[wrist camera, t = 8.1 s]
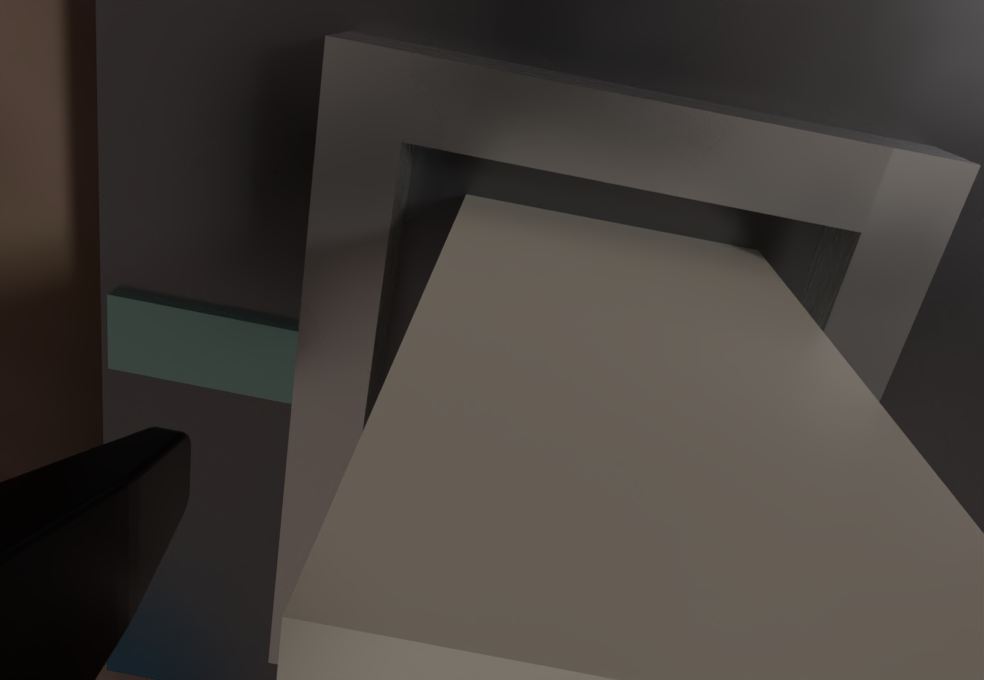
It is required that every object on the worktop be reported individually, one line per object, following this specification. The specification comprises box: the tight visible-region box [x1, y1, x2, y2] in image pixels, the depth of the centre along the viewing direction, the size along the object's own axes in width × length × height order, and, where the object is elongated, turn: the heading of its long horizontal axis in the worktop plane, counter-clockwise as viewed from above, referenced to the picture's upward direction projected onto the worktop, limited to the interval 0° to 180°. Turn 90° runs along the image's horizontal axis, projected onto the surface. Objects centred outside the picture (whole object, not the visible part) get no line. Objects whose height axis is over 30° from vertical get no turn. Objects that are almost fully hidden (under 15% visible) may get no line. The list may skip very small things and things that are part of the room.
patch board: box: [95, 0, 984, 680], centre depth 10 cm, size 14×24×2 cm, turn 170°
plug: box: [277, 194, 984, 680], centre depth 8 cm, size 4×6×9 cm, turn 170°
